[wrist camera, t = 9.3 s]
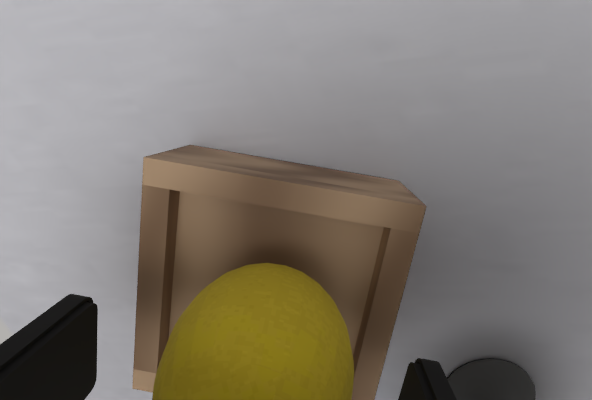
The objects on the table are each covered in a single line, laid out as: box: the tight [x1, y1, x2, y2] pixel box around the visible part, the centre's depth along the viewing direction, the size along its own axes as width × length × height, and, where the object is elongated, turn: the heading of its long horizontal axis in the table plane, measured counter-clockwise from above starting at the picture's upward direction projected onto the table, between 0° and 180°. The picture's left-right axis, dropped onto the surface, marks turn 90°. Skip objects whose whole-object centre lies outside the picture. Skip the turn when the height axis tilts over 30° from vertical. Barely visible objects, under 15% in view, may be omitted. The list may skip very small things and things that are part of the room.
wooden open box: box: [133, 145, 426, 400], centre depth 16 cm, size 10×10×4 cm
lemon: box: [152, 263, 354, 400], centre depth 10 cm, size 6×6×8 cm
